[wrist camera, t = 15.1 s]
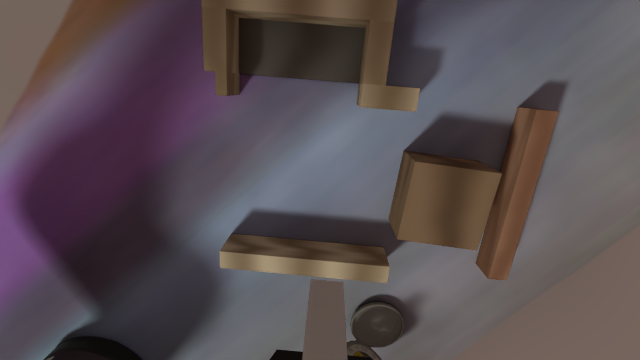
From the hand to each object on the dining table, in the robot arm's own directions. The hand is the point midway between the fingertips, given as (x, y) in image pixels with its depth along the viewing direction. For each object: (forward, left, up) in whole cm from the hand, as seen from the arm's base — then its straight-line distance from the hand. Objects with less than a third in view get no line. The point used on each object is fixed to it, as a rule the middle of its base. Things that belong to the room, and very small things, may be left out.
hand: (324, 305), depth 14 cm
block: (+11, 0, -21) cm, 23 cm away
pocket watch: (+7, -19, -21) cm, 29 cm away
